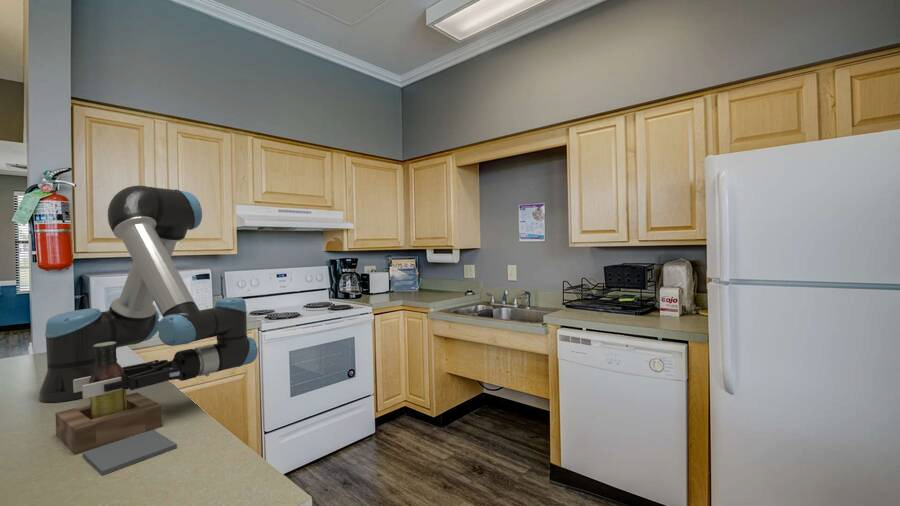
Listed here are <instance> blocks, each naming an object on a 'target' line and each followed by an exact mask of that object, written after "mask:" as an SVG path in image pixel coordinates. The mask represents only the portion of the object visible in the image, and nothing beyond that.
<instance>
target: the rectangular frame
mask: <svg viewBox="0 0 900 506" xmlns="http://www.w3.org/2000/svg"><path fill="white" fill-rule="evenodd" d="M126 398H127V410H125V411H121V412H118V413H114V414H110V415H107V416H103V417H100V418H96V419H91V405H90V404H86V405H83V406H78V407H74V408H70V409H66V410H61V411H59V412H58V411H57V412H55V436H56V437H57V438H58V439H59V440H61V441H62V443H63V444H64V445H66V447H67V448H68V449H70V450H71V451H72V452H73V453H74V454H75V455H78V454H82V453H83V452H86V451H89V450H93V449H96V448H99V447H102V446H105V445H108V444H111V443H114V442H117V441H120V440H123V439H126V438H129V437H133V436H136V435H139V434H142V433H145V432H148V431H151V430H155V428H156V429H158V427H159V428H161V426H162V427H163V415H162V404H161V403H159V402H156V401H155V400H153V399H151V398H149V397H147V396H145V395H143V394H141V393H139V392H138V391H137V392H133V393H129V394H126Z"/></svg>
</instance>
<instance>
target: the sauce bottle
mask: <svg viewBox="0 0 900 506" xmlns="http://www.w3.org/2000/svg"><path fill="white" fill-rule="evenodd" d="M93 352H94V353H95V367H94V369H93V372H92V375H91V378H90V381H89V384H91V383H95V382H100V381H104V380H109V379H113V378H118V377H122V380H123V374H124V370H123V369H122V366H121V365H120V364H119V362H118V357H117V343H116V342H104V343H99V344H95V345H94V346H93ZM126 395H127V389H126V390H125V389H123V388H122V390H118V391H114V392H110V393H106V394H102V395H98V396H94V397H89V401H90V405H91V419H96V418H100V417H103V416H107V415H110V414H114V413H118V412H121V411H125V410H127V398H126Z"/></svg>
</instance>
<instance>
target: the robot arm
mask: <svg viewBox="0 0 900 506" xmlns="http://www.w3.org/2000/svg"><path fill="white" fill-rule="evenodd" d="M202 218H203V209H202V206H201V203H200V201H199V199H198V198H197V197H196V196H195V195H194V194H193V193H191V192H188V191H185V190H180V189H173V188H172V189H171V188H163V187H155V186H154V187H152V186H146V185H132V186H128V187H125V188H123V189H122V190H120V191H118V192H117V193H116V194H115V195H114V196H113V198H111V200H110V202H109V205H108V208H107V222H108V225H109V227H110V229H111V232H112V233H113V235H114V237H115V238H117V239H120V240H122V242H123V244H124V246H125V248H126V250H127V252H128V253H129V255H130V257H131V259H132V264H131V267H130V269H129V272H128V275H127V277H126V280H125V282H124V285H123V288H122V291H121V293H120V296H119V297H118V298H115V299H113V300H112V301H111V303H110V306H109V308H108V310H106V311H101V310H100V309H99V308H93V307H92V308H84V309H76V310H71V311H67V312H63V313H59V314H56V315H54V316H52V317H50V318H48V320H47V321H46V324H45V333H44V336H45V343H46V344H45V345H46V346H45V347H46V364H47V365H46V366H47V371H46V374H45V376H44V379H43V382H42V384H41V387H40V389H39V401H40V402H42V403H59V402H68V401H74V400H79V399H84V400H85V399H88V398H89V399H90V397H94V396H98V395H102V394H106V393H110V392H114V391H118V390H122V388H123V389H125V390H126V391H127V390H129V391H135V390H137V389H142V388H146V387H148V386H153V385H157V384H160V383H161V384H162V383H164V382H167V381H169V382H170V381H174V380H178V381H181V382H183V381H188V380H192V379H196V378H197V377H203V376H205V377H210V374H214V373H217V372H222V371H227V370H230V369H235V368H240V367H242V366H246V365H248V364H251V363H254V362H255V360H256V359H257V357H258V353H259V351H258V350H259V348H258V347H257V342H256V340H255V339H254V338H253V337H249V336H248V332H247V331H248V330H247V329H248V326H247V322H248V321H247V313H248V311H247V305H246V300H245V298H242V297H236V296H235V297H224V298H219V299H217V300H216V301H215V306H214V307H212V308H205V309H201V310H200V309H199V307H198V305H197V304H196V302H195V301H194V298H193V296H192V295H191V293H190V291H189V290H188V287H187V286H186V284H185V282H184V280H183V278H182V276H181V274H180V272H179V271H178V269H177V267H176V265H175V263H174V261H173V260H172V255H173V252H174V250H175V248H176V245H177V243H178V242H180V241H183V240H185V238H186V236H187V233H188V231H191V230H195V229H197V228H198V227H200V225H201V223H202V220H203V219H202ZM154 302H155V304H156V306H157V308H158V310H157V308H156V306H155V304H154ZM158 311H159V312H160V314H159V312H158ZM160 315H161V316H162V318H161V319H160ZM159 319H160V320H159ZM157 332H158V338H159V339H160V341H161V343H163V344H164V345H166V346H169V347H173V346H182V345H188V344H190V343H194V342H196V341H201V340H206V339H210V338H215V337H216V343H213V344H207V345H201V346H198V347H194V348H188V349H187V348H186V349H184V350H178V351H176V352H175V354H174V355H173V358H172V360H169V361H168V359H161V360H159V359H155V360H152V361H148V362H143V363H137V364H131V365H126V366H123V367H122V366H121V367H122V369H123V370H124V374H123V380H122V377H118V378H113V379H109V380H104V381H100V382H95V383H91V384H89V381H90V378H91V375H92V372H93V369H94V367H95V353H94V352H93V346H94V345H95V344H99V343H104V342H116V343H117V348H122V347H126V346H130V345H137V344H141V343H143V342H147V341H149V340H151V339H152V338H154V336H156V334H157Z"/></svg>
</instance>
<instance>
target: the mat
mask: <svg viewBox="0 0 900 506" xmlns="http://www.w3.org/2000/svg"><path fill="white" fill-rule="evenodd" d="M177 448H178V444H177V443H176V442H175V441H172V440H171V439H170V438H168V437H166V436H165V435H163V434H161V433H160V432H158V431H156V430H155V429H152V430H149V431H146V432H143V433H140V434H137V435H134V436H131V437H128V438H125V439H122V440H118V441H115V442H112V443H109V444H106V445H103V446H100V447H97V448H94V449H91V450H88V451H84V452H82V458H83V459H84V460H86V462H88V464H89V465H91V467H93V468H94V469H95V470H96V471H97V472H98V473H99V474H100V475H101V476H104V475H105V476H106V475H107V474H110V473H113V472H116V471H118V470H121V469H123V468H126V467H129V466H131V465H134V464H137V463H139V462H143V461H145V460H148V459H151V458H153V457H156V456H158V455H161V454H165V453H166V452H169V451H172V450H176V449H177Z"/></svg>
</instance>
